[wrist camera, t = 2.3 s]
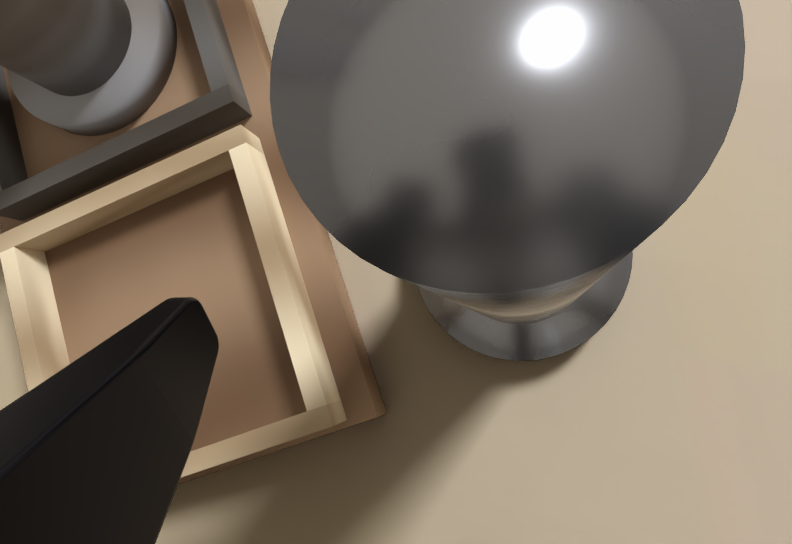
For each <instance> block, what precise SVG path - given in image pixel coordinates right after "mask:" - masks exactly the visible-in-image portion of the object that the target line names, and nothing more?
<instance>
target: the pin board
mask: <svg viewBox="0 0 792 544" xmlns="http://www.w3.org/2000/svg"><path fill="white" fill-rule="evenodd" d="M271 64H272V60H271V57H270V54H269V51H268V48H267V45H266V42H265V39H264V35H263V32H262V29H261V26H260V23H259V20H258V17H257V14H256V11H255V8H254V5H253V2H252V0H0V224H1V229H2V234H0V259H1V264H2V268H3V273H4V278H5V283H6V287H7V292H8V297H9V302H10V306H11V311H12V316H13V321H14V325H15V330H16V335H17V340H18V344H19V349H20V354H21V359H22V363H23V368H24V373H25V378H26V382H27V387H28V392H29V391H30V390H32V389H33V388H35V387H36V386H38V385H39V384H41V383H42V382H44V381H45V380H47V379H48V378H50V377H51V376H53V375H54V374H56V373H57V372H59V371H60V370H62V369H63V368H65V367H66V366H68V365H69V364H71V363H72V362H74V361H75V360H77V359H78V358H80V357H81V356H82V355H84V354H85V353H87V352H88V351H90V350H91V349H93V348H94V347H96V346H97V345H99V344H100V343H102V342H103V341H105V340H106V339H108V338H109V337H111V336H112V335H114V334H115V333H117V332H118V331H120V330H121V329H123V328H124V327H126V326H127V325H129V324H130V323H132V322H133V321H135V320H136V319H138V318H139V317H141V316H142V315H144V314H145V313H147V312H148V311H150V310H151V309H153V308H154V307H156V306H157V305H159V304H160V303H162V302H163V301H165V300H166V299H169V298H174V297H193V298H196V299H197V300H198V301H200V303H201V304H202V306H203V308H204V310H205V312H206V314H207V316H208V318H209V320H210V322H211V324H212V326H213V328H214V330H215V332H216V334H217V336H218V341H219V350H218V355H217V358H216V362H215V366H214V370H213V373H212V377H211V381H210V385H209V388H208V392H207V396H206V400H205V403H204V407H203V411H202V415H201V418H200V422H199V426H198V429H197V433H196V436H195V439H194V442H193V445H192V448H191V451H190V454H189V457H188V459H187V462H186V465H185V467H184V470H183V472H182V475H181V478H180V480H179V483H178V484H180V483H183V482H186V481H189V480H192V479H195V478H198V477H201V476H204V475H207V474H210V473H213V472H216V471H219V470H222V469H225V468H228V467H231V466H234V465H237V464H240V463H243V462H246V461H249V460H252V459H255V458H258V457H260V456H263V455H266V454H269V453H272V452H275V451H278V450H281V449H284V448H287V447H290V446H293V445H296V444H299V443H302V442H305V441H308V440H311V439H314V438H317V437H320V436H323V435H326V434H329V433H332V432H335V431H338V430H341V429H344V428H347V427H350V426H353V425H356V424H359V423H362V422H365V421H368V420H371V419H374V418H377V417H379V416H381V415H383V414H385V413H386V410H385V407H384V404H383V401H382V398H381V395H380V392H379V389H378V386H377V382H376V379H375V376H374V373H373V370H372V367H371V364H370V361H369V358H368V355H367V352H366V349H365V346H364V343H363V339H362V336H361V333H360V330H359V327H358V324H357V321H356V318H355V315H354V312H353V309H352V306H351V303H350V300H349V296H348V293H347V290H346V287H345V284H344V281H343V278H342V275H341V272H340V269H339V266H338V263H337V260H336V257H335V253H334V250H333V247H332V244H331V241H330V238H329V235H328V232H327V229H326V228H325V227H324V226H323V225H322V224H321V223H320V222H319V221H318V220H317V219H316V218H315V216H314V215H313V214H312V212H311V211H310V210H309V208H308V207H307V206H306V204H305V203H304V202H303V200H302V199H301V197H300V195H299V194H298V192H297V190H296V188H295V186H294V185H293V183H292V181H291V179H290V178H289V176H288V173H287V170H286V168H285V165H284V163H283V160H282V158H281V155H280V153H279V149H278V145H277V141H276V137H275V133H274V129H273V124H272V115H271V106H270V71H271Z"/></svg>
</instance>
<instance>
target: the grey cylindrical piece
mask: <svg viewBox="0 0 792 544" xmlns="http://www.w3.org/2000/svg"><path fill="white" fill-rule="evenodd" d="M744 54H745V40H744V27H743V15H742V11H741V6H740V2H739V0H289V1H288V4H287V6H286V9H285V11H284V14H283V16H282V19H281V22H280V26H279V29H278V33H277V37H276V41H275V44H274V50H273V57H272V64H271V71H270V106H271V115H272V124H273V129H274V133H275V137H276V141H277V145H278V149H279V153H280V155H281V158H282V160H283V163H284V165H285V168H286V170H287V173H288V176H289V178H290V179H291V181H292V183H293V185H294V186H295V188H296V190H297V192H298V194H299V195H300V197H301V199H302V200H303V202H304V203H305V204H306V206H307V207H308V208H309V210H310V211H311V212H312V214H313V215H314V216H315V218H316V219H317V220H318V221H319V222H320V223H321V224H322V225H323V226H324V227H325V228H326V229H327V230H328V231H329V232H330V233H331V234H332V235H333V236H334V237H335V238H336V239H337V240H338V241H339V242H340V243H341V244H343V245H344V246H345V247H347V248H348V249H349V250H351V251H352V252H353V253H355V254H356V255H357V256H359V257H360V258H362V259H364V260H365V261H367V262H369V263H371V264H373V265H374V266H376V267H378V268H380V269H382V270H383V271H385V272H387V273H389V274H392V275H394V276H396V277H398V278H401V279H403V280H405V281H407V282H410V283H412V284H414V285H416V286H418V289H419V292H420V294H421V296H422V299H423V301H424V303H425V305H426V307H427V308H428V310H429V312H430V313H431V315H432V316H433V317H434V319H435V320H436V321H437V322H438V324H439V325H440V326H441V327H442V328H443V329H444V330H445V331H446V332H447V333H448V334H449V335H451V336H452V337H453V338H455V339H456V340H457V341H459V342H460V343H462V344H463V345H465V346H467V347H469V348H470V349H472V350H474V351H477V352H479V353H482V354H484V355H487V356H491V357H495V358H498V359H505V360H512V361H531V360H539V359H545V358H549V357H552V356H556V355H559V354H562V353H564V352H567V351H569V350H571V349H573V348H575V347H577V346H578V345H580V344H582V343H584V342H585V341H586V340H588V339H589V338H590V337H592V336H593V335H594V334H596V333H597V332H598V331H599V330H600V329H601V328H602V327H603V326H604V325H605V324H606V323H607V321H608V320H609V319H610V317H611V316H612V315H613V313H614V312H615V311H616V309H617V307H618V305H619V303H620V302H621V300H622V298H623V296H624V293H625V290H626V288H627V285H628V282H629V278H630V273H631V268H632V256H633V254H632V250H634V249H635V248H636V247H637V246H638V245H639V244H641V243H642V242H643V241H644V240H645V239H646V238H647V237H649V236H650V235H651V234H652V233H653V232H654V231H656V230H657V229H658V228H659V227H660V226H661V225H662V224H663V223H664V222H665V221H666V220H667V219H668V218H669V217H670V216H671V215H672V214H673V213H674V212H675V211H676V210H677V209H678V208H679V207H680V206H681V205H682V204H683V203H684V202H685V201H686V200H687V198H688V197H689V196H690V194H691V193H692V192H693V190H694V189H695V188H696V186H697V185H698V184H699V182H700V181H701V180H702V178H703V177H704V176H705V174H706V173H707V171H708V170H709V168H710V166H711V164H712V162H713V161H714V159H715V157H716V155H717V153H718V152H719V150H720V148H721V146H722V144H723V142H724V140H725V137H726V135H727V132H728V129H729V127H730V124H731V122H732V119H733V116H734V114H735V111H736V107H737V102H738V98H739V93H740V89H741V84H742V80H743V68H744Z"/></svg>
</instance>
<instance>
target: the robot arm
mask: <svg viewBox="0 0 792 544" xmlns="http://www.w3.org/2000/svg"><path fill="white" fill-rule="evenodd" d="M218 350H219V341H218V336H217V334H216V332H215V330H214V328H213V326H212V324H211V322H210V320H209V318H208V316H207V314H206V312H205V310H204V308H203V306H202V304H201V303H200V301H198V300H197V299H196V298H193V297H174V298H169V299H166V300H165V301H163V302H162V303H160V304H159V305H157V306H156V307H154V308H153V309H151V310H150V311H148V312H147V313H145V314H144V315H142V316H141V317H139V318H138V319H136V320H135V321H133V322H132V323H130V324H129V325H127V326H126V327H124V328H123V329H121V330H120V331H118V332H117V333H115V334H114V335H112V336H111V337H109V338H108V339H106V340H105V341H103V342H102V343H100V344H99V345H97V346H96V347H94V348H93V349H91V350H90V351H88V352H87V353H85V354H84V355H82V356H81V357H80V358H78V359H77V360H75V361H74V362H72V363H71V364H69V365H68V366H66V367H65V368H63V369H62V370H60V371H59V372H57V373H56V374H54V375H53V376H51V377H50V378H48V379H47V380H45V381H44V382H42V383H41V384H39V385H38V386H36V387H35V388H33V389H32V390H30V391H29V392H27V393H26V394H24V395H23V396H21V397H20V398H18V399H17V400H15V401H14V402H12V403H11V404H9V405H8V406H6V407H5V408H3V409H2V410H0V544H155V543H156V540H157V538H158V535H159V532H160V530H161V527H162V525H163V522H164V519H165V517H166V514H167V512H168V509H169V506H170V504H171V501H172V498H173V496H174V493H175V491H176V488H177V485H178V483H179V480H180V478H181V475H182V472H183V470H184V467H185V465H186V462H187V459H188V457H189V454H190V451H191V448H192V445H193V442H194V439H195V436H196V433H197V429H198V426H199V422H200V418H201V415H202V411H203V407H204V403H205V400H206V396H207V392H208V388H209V385H210V381H211V377H212V373H213V370H214V366H215V362H216V358H217V355H218Z"/></svg>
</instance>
